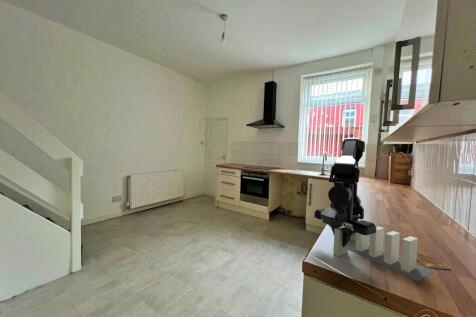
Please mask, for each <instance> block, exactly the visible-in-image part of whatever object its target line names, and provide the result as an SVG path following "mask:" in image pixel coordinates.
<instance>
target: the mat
mask: <svg viewBox="0 0 476 317" xmlns="http://www.w3.org/2000/svg"><path fill="white" fill-rule="evenodd" d="M355 248H356V239H352V238H350V240H349V241H348V251H351V252H353V253H355V254H357V255H360V256H361V257H363V258H366V259H368V260H370V261H373V262H374V263H376V264H378V265H381V266H384V267H386V268H388V269H390V270H393V271H395V272H397V273H399V274H400V275H401V274H402V275H404V276H406V277H408V278H411V279H412V280H415V281H417V282H419V281H422V279H424V278H426V277H427V276H428V275H430V274H432V273H433V272H434V271H433V270H431V269H428V268H427V267H424V266H420V265H418V264H416V268H415V269H414V270H412V271H410V272H406V271H404V270H402V269H401V259H402V257H401V258H400V257H399V258H398V261H397V262H395V263H393V264H391V265H390V264H388V263H386V262H384V251H383V255H380V256H378V257H375V258H374V257H372V256H369V249H367V250H364V251H361V252H360V251H358V250H356V249H355Z"/></svg>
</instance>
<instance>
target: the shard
mask: <svg viewBox="0 0 476 317" xmlns="http://www.w3.org/2000/svg"><path fill="white" fill-rule="evenodd" d="M416 262H419V263H420V264H421V265H423V267H425V268H429V269H430V268H434V269H443V270H451V266H449V265H448V264H446V263H445V262H443V261H442V260H440V259H437V258H435V257H434V258H433V257H431V256H428V255H424V254H421V253H418V252H417V261H416Z"/></svg>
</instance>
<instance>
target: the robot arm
mask: <svg viewBox="0 0 476 317" xmlns="http://www.w3.org/2000/svg"><path fill="white" fill-rule="evenodd" d="M340 150H341V154H340V156H339V157H338V158H336V159H335V161H334V162H333V164H332V165H331V169H330V173H329V174H330V175H329V179H328V182H329V183H332V184H333V186H332V187H331V188H330V189H329V191H328V193H327V197H328V199H329V202H330V206H329V207H327V208H319V209H318V208H317V209H316V210H315V211H314V214H313V218H315V219H318V220H322V221H321V222H322V223H323V224H326V225H328V226H329V227H330V229H331V230H332V233H333V235H334V231H335V228H338V227H342V226H345V227H343V228H341V230H342V231H343V239H342V246H343V247H345V246H346V245H347V243H348V241H349V240H350V239H352V236H353V235H354V234H356V233H359V234H362V235H366V236H367V235H369V236H370V234H373V233H376V227H377V226H376V225H375V223H374V222H371V221H367V220H364V219H365V209H364V207H363V205H361V204H362V203H361V202H362V200H361V198H360V197H359V196H358V183H359V181H360V173H361V170H360V169H359V162H360V160H361V158H363V156H364V153H365V152H366V141H364V140H361V139H360V138H357V137H346V138H344V139H343V140H342V141H341V148H340Z"/></svg>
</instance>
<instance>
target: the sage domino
mask: <svg viewBox="0 0 476 317" xmlns="http://www.w3.org/2000/svg"><path fill="white" fill-rule="evenodd" d="M343 227H345V226H342V227H338V228H335V231H334V234H333V251H332V252H333V255H336V256H338V257H340V256H343V255H346V254H348V252H349V250H348V243H347V245H346V246H345V247H343V246H342V239H343V231H342V230H341V228H343Z"/></svg>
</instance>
